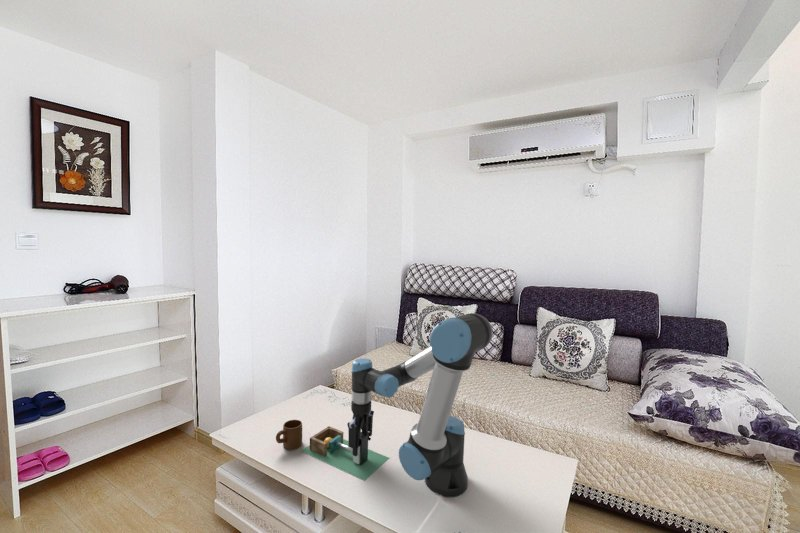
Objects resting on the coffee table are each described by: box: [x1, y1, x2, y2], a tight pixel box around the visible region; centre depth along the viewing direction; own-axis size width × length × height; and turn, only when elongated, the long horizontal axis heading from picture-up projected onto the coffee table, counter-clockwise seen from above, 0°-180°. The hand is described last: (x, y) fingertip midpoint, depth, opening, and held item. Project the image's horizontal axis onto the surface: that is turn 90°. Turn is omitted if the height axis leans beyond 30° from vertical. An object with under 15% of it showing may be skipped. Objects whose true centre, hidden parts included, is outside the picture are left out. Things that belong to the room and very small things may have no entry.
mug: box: [275, 419, 303, 451], centre depth 145 cm, size 12×8×9 cm, turn 148°
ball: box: [324, 437, 332, 448], centre depth 146 cm, size 4×4×4 cm
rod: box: [329, 431, 369, 465], centre depth 140 cm, size 16×6×10 cm, turn 58°
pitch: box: [301, 438, 390, 482], centre depth 142 cm, size 32×16×1 cm, turn 58°
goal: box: [309, 426, 344, 457], centre depth 146 cm, size 8×11×5 cm
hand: (360, 459), depth 137 cm, fingers closed on rod, 4 cm apart
